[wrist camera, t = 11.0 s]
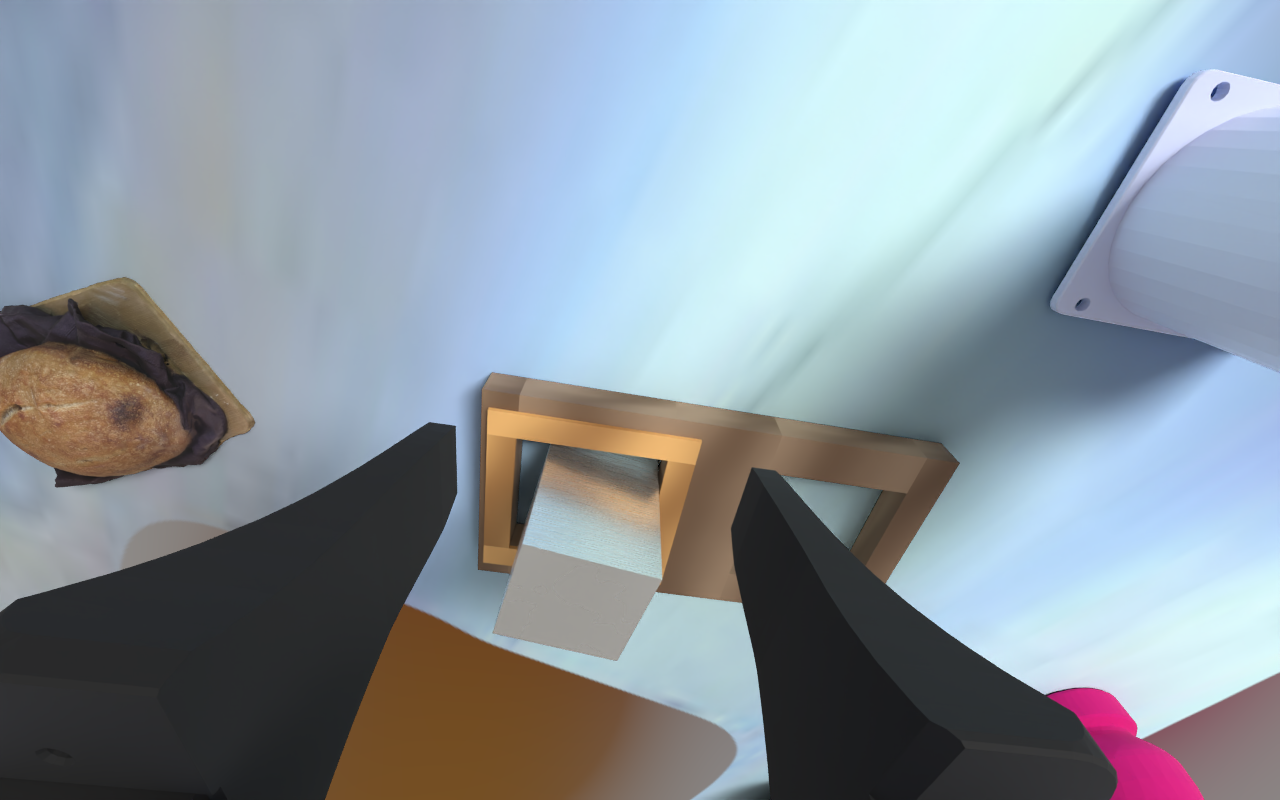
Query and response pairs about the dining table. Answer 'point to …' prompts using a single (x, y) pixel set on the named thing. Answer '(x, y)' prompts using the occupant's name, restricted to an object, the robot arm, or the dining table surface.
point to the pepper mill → (1128, 749)
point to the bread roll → (109, 386)
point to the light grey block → (586, 553)
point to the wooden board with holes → (699, 472)
